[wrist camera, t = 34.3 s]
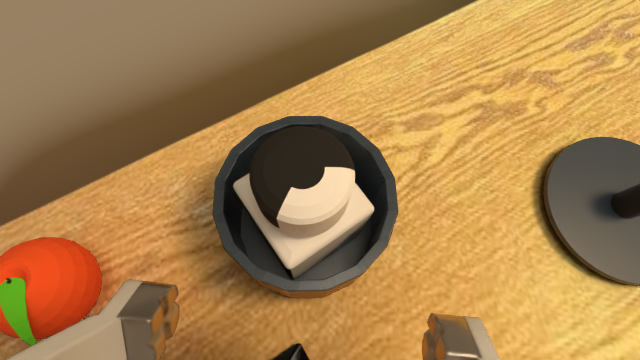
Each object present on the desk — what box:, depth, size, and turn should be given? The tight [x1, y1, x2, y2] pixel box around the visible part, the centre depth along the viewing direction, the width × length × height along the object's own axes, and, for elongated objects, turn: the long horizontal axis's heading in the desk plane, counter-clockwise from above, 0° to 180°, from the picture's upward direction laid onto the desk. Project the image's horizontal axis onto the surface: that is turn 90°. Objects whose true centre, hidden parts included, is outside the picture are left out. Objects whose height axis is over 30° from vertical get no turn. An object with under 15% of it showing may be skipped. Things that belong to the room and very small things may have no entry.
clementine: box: [0, 237, 102, 346], centre depth 26 cm, size 8×7×7 cm
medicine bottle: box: [233, 126, 374, 280], centre depth 26 cm, size 7×7×12 cm
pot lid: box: [544, 137, 640, 286], centre depth 32 cm, size 13×13×5 cm
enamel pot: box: [213, 116, 398, 298], centre depth 29 cm, size 12×12×8 cm
